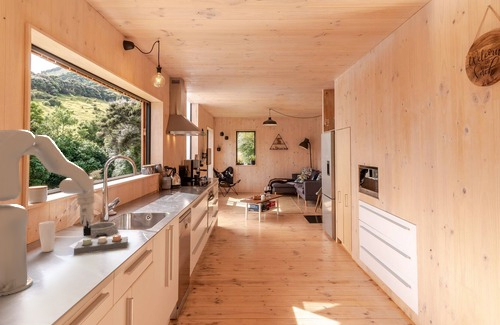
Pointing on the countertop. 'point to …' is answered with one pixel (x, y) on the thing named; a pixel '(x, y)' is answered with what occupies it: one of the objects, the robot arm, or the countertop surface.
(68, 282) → the countertop surface
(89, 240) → the sage button
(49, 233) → the drinking glass
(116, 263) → the countertop surface
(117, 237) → the terracotta button
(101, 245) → the button panel
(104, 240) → the cream button
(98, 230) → the dog bowl
